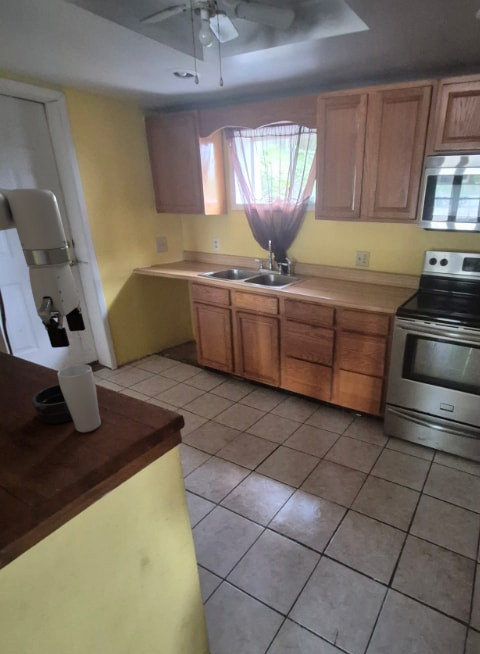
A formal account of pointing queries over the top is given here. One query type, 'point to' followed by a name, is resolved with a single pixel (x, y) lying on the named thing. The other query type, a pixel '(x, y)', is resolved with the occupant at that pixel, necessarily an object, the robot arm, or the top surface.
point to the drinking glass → (80, 396)
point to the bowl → (51, 406)
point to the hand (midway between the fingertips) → (69, 338)
